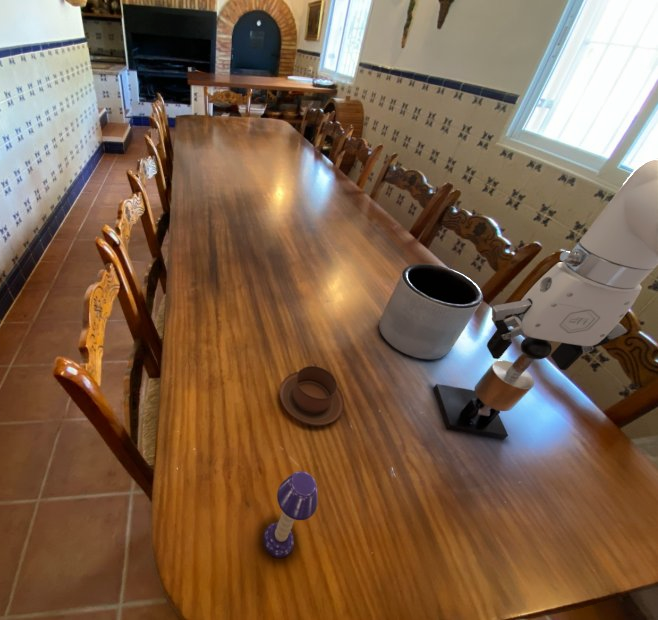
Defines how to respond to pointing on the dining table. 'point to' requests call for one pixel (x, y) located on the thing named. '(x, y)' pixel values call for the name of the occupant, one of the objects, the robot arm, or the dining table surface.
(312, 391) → the cup and saucer
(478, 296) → the planter
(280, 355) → the dining table surface
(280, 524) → the toy lamp
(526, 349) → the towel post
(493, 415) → the dark grey lever base
